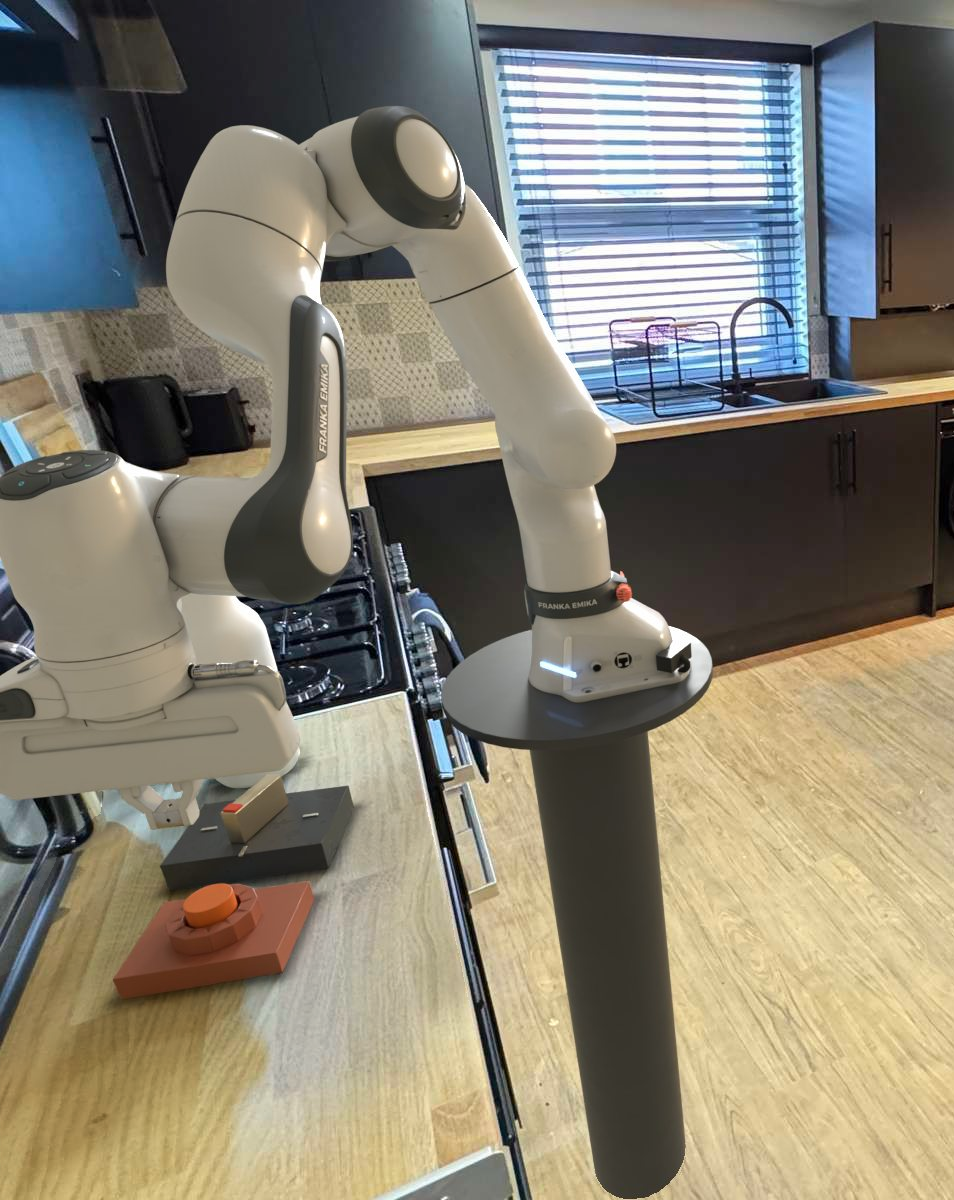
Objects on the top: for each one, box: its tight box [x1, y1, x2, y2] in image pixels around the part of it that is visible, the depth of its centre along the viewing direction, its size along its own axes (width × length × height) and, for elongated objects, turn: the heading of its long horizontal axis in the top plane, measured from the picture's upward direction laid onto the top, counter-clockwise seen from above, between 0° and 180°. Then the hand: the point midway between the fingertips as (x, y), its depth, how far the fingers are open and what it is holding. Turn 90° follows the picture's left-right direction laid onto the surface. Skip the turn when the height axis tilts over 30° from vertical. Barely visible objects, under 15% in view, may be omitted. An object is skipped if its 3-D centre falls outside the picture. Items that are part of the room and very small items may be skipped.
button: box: [183, 883, 238, 929], centre depth 72 cm, size 4×4×2 cm
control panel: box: [159, 785, 355, 892], centre depth 86 cm, size 14×11×3 cm
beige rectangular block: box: [221, 775, 289, 843], centre depth 84 cm, size 6×2×4 cm, turn 174°
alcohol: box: [181, 593, 301, 789], centre depth 94 cm, size 9×9×30 cm
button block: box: [112, 880, 315, 1000], centre depth 73 cm, size 12×9×4 cm
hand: (176, 823), depth 69 cm, fingers closed
